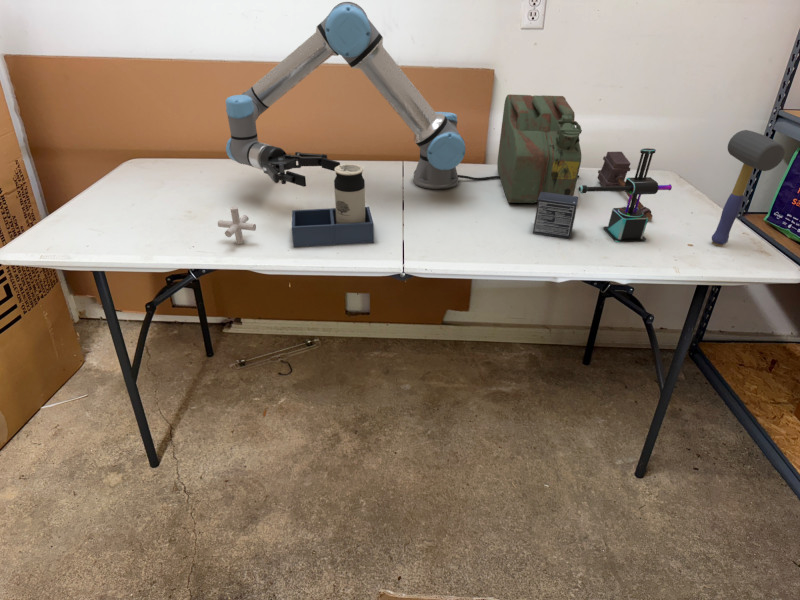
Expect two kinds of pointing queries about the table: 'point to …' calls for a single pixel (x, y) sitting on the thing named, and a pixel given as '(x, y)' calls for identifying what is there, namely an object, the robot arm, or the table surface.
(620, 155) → the hammer
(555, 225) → the small box
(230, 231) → the pipe connector
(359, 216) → the travel mug
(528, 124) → the fuel can
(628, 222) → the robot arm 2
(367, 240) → the divided storage bin
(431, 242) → the table surface
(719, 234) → the rubber mallet
